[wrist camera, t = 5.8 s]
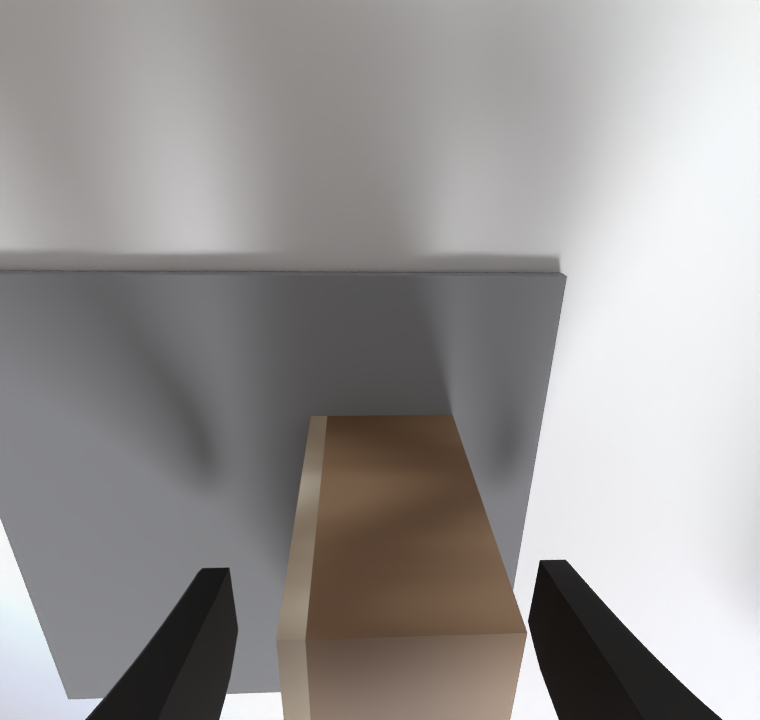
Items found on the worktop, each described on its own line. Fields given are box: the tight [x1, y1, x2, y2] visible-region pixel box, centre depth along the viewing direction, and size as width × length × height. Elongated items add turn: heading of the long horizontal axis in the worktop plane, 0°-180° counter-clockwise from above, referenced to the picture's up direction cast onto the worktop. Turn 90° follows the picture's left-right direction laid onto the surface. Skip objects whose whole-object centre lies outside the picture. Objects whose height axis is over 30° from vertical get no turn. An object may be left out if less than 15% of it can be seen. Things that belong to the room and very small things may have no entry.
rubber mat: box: [0, 271, 567, 699], centre depth 14 cm, size 14×14×1 cm
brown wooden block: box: [276, 415, 527, 720], centre depth 11 cm, size 4×8×6 cm, turn 179°
